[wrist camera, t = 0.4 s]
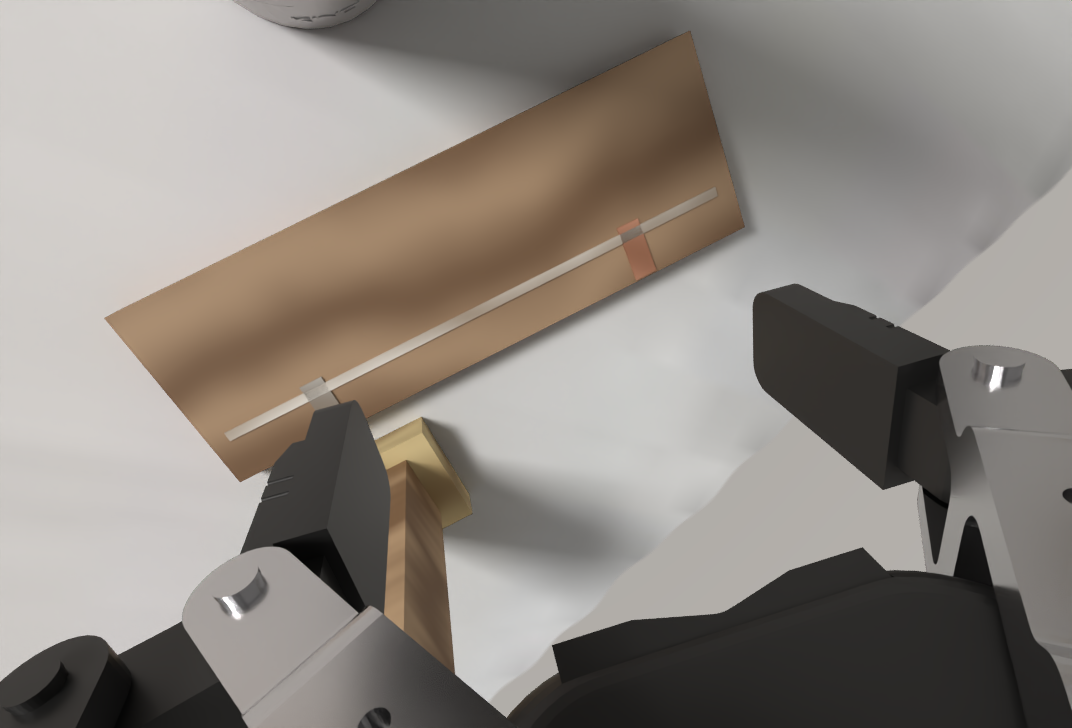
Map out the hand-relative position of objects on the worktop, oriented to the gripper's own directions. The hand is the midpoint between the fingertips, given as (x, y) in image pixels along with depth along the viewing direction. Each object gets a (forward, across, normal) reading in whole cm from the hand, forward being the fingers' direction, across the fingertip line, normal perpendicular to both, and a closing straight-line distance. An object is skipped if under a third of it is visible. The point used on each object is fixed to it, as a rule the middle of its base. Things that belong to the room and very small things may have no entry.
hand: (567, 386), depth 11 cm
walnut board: (+19, +2, +2) cm, 20 cm away
